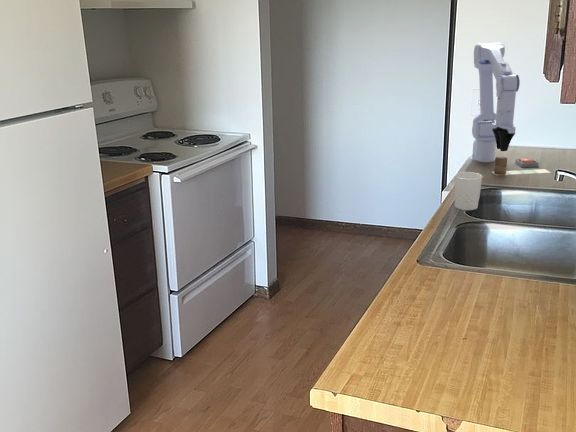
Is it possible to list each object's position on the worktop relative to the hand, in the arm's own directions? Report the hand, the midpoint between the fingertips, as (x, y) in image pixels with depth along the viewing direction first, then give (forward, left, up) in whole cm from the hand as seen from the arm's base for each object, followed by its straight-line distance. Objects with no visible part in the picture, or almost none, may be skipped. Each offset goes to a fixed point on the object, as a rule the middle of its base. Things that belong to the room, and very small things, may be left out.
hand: (502, 149), depth 215 cm
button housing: (-9, +14, -9) cm, 19 cm away
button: (-9, +14, -9) cm, 18 cm away
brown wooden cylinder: (0, 0, -8) cm, 8 cm away
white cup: (+31, -22, -10) cm, 39 cm away
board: (0, +8, -9) cm, 12 cm away
